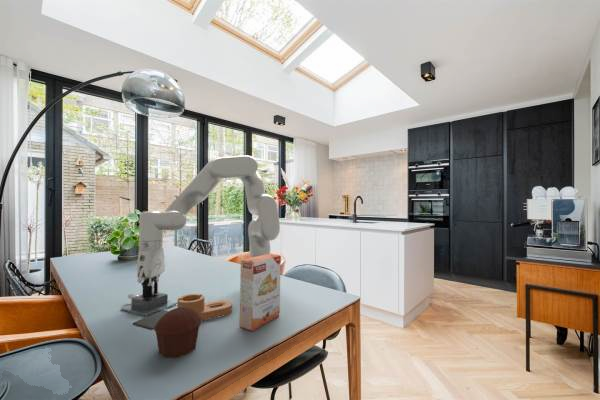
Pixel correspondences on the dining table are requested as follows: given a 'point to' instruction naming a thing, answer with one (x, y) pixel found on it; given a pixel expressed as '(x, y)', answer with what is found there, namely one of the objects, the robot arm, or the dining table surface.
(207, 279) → the dining table surface
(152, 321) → the rubber mat
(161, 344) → the muffin
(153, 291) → the small bottle
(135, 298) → the chuck block
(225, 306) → the bracket
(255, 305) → the cracker box
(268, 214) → the robot arm
